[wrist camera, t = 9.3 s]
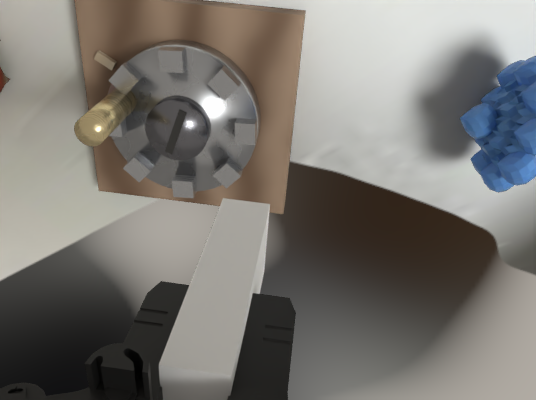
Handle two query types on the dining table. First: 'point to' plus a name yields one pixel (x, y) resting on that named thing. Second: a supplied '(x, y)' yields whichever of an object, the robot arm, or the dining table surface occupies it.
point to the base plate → (227, 42)
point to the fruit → (2, 79)
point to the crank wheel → (178, 117)
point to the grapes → (506, 128)
